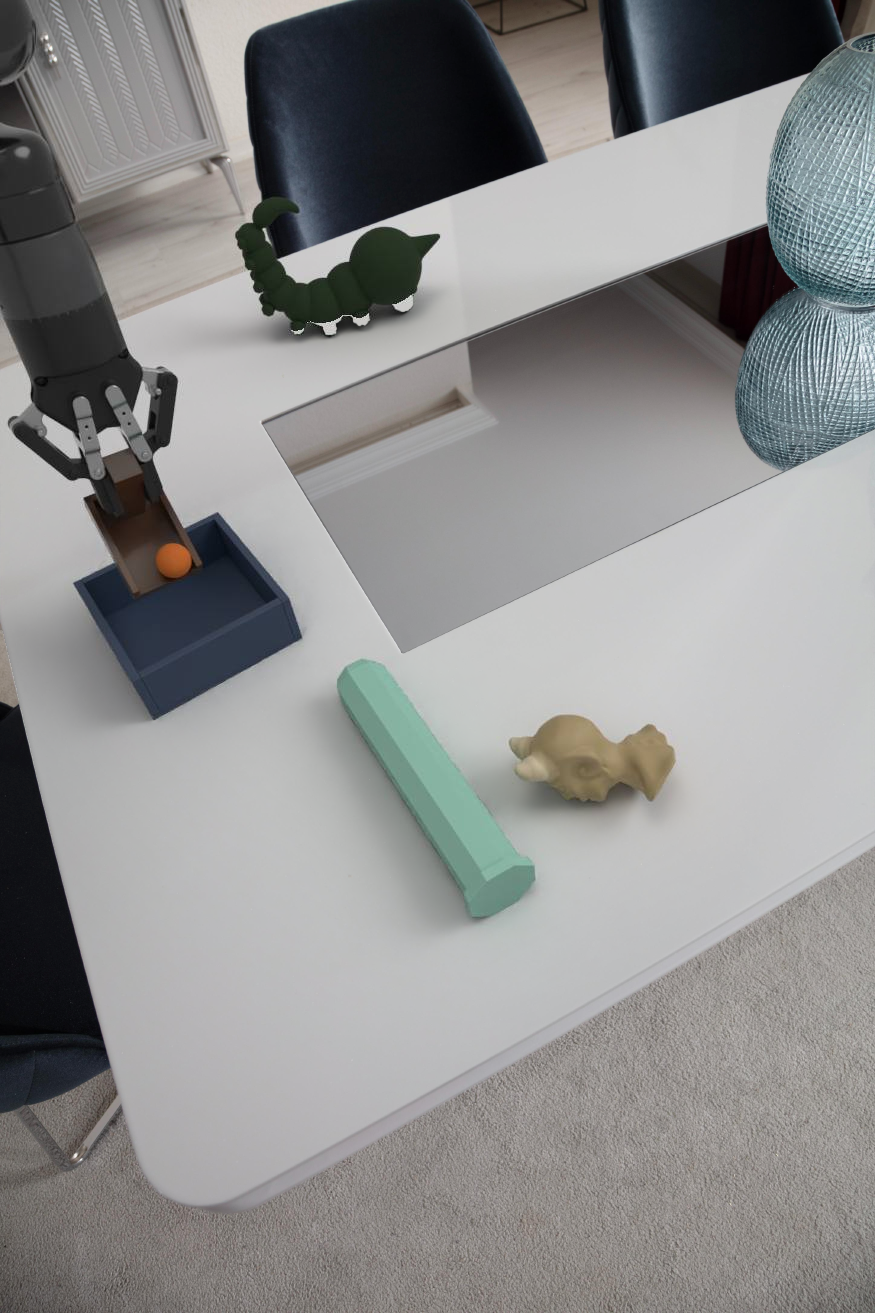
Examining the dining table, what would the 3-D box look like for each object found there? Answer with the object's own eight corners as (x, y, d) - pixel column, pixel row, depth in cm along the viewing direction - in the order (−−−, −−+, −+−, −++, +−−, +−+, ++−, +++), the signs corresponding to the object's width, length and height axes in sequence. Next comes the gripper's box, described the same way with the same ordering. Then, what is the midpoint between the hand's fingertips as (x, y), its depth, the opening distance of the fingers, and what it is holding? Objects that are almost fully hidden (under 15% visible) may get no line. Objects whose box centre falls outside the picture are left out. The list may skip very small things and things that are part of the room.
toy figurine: (281, 367, 123) (460, 310, 123) (229, 229, 108) (432, 164, 108) (272, 332, 129) (443, 277, 129) (221, 196, 114) (414, 135, 114)
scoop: (202, 571, 83) (205, 536, 74) (134, 600, 80) (129, 568, 72) (153, 480, 83) (151, 435, 75) (85, 506, 81) (74, 463, 73)
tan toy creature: (686, 775, 68) (526, 747, 67) (654, 843, 72) (503, 818, 71) (666, 708, 75) (521, 681, 74) (638, 773, 78) (500, 749, 77)
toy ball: (155, 557, 82) (182, 580, 82) (143, 565, 79) (171, 588, 79) (175, 533, 81) (202, 555, 81) (163, 539, 78) (191, 563, 79)
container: (329, 651, 79) (479, 877, 64) (390, 641, 82) (547, 854, 67) (319, 702, 83) (459, 927, 67) (377, 691, 86) (524, 904, 70)
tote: (154, 720, 84) (132, 682, 80) (95, 621, 93) (72, 582, 89) (302, 638, 89) (289, 597, 84) (232, 551, 98) (217, 511, 93)
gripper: (-36, 337, 62) (66, 556, 72) (159, 277, 67) (228, 491, 77) (-53, 315, 67) (44, 522, 78) (129, 261, 72) (197, 463, 83)
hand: (135, 505), depth 77 cm, fingers closed on scoop, 2 cm apart
